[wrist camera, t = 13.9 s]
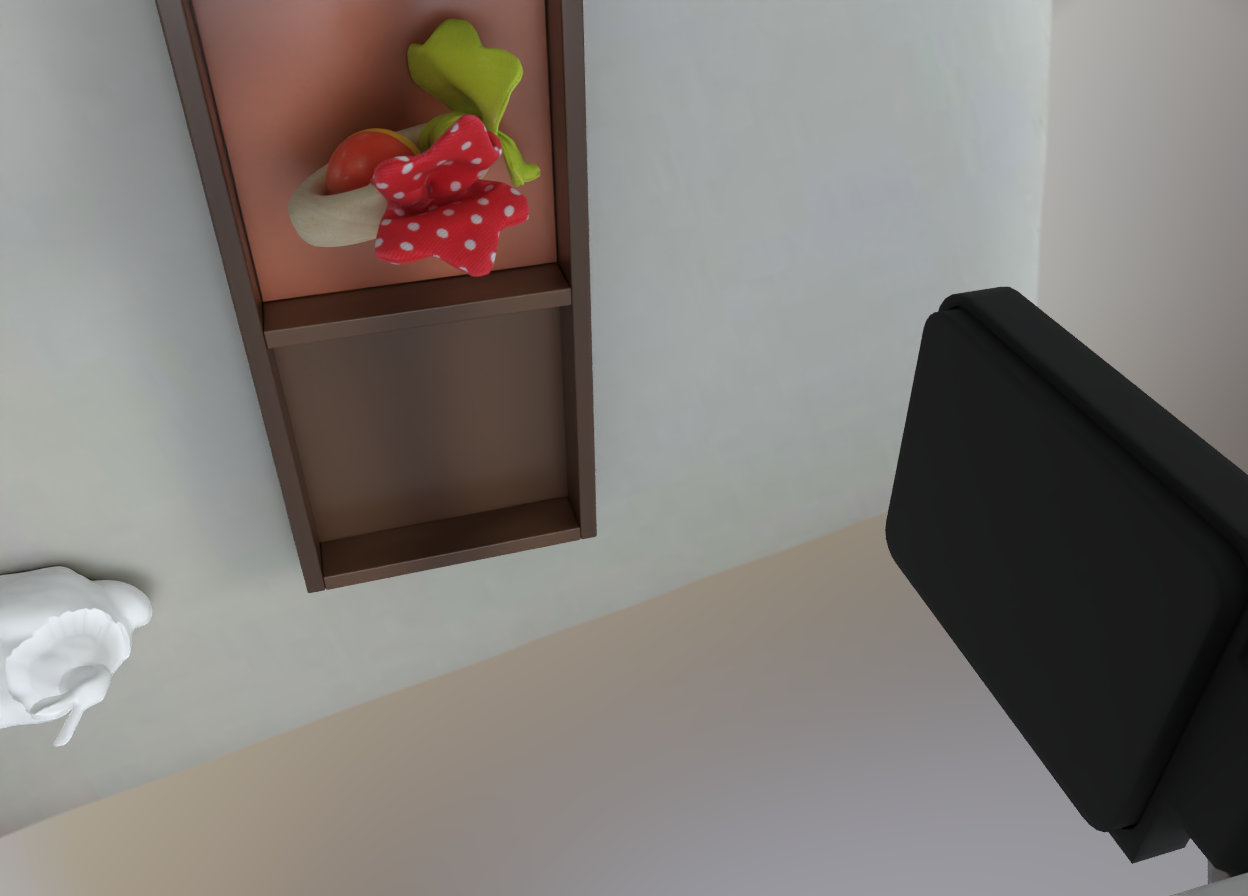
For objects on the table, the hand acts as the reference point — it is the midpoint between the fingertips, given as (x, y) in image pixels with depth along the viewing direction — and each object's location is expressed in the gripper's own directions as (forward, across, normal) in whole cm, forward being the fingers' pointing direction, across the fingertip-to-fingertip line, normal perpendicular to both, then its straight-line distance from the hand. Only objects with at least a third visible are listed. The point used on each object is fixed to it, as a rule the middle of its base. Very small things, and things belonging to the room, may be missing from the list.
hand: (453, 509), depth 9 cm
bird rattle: (+32, -2, +8) cm, 33 cm away
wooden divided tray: (+32, -2, +14) cm, 35 cm away
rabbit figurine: (+32, +18, +27) cm, 46 cm away
